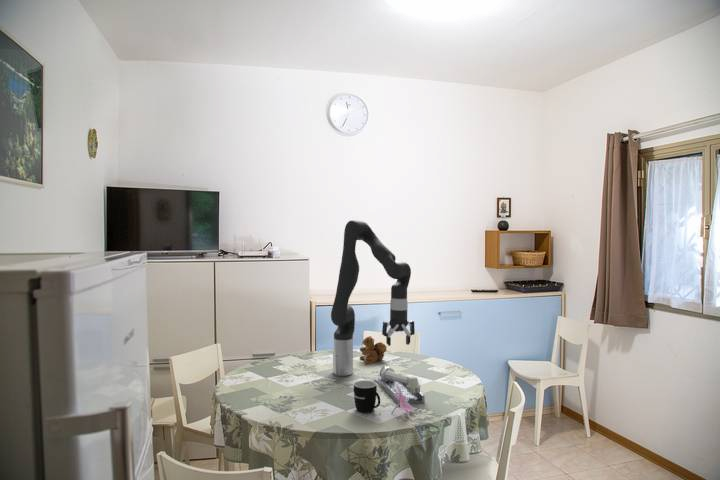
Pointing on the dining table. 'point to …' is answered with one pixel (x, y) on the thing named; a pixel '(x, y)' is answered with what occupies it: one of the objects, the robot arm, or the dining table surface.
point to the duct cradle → (392, 388)
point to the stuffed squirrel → (372, 350)
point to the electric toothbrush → (402, 380)
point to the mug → (365, 396)
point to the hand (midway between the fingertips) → (398, 344)
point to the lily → (403, 402)
